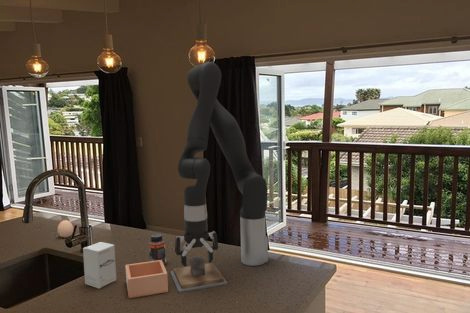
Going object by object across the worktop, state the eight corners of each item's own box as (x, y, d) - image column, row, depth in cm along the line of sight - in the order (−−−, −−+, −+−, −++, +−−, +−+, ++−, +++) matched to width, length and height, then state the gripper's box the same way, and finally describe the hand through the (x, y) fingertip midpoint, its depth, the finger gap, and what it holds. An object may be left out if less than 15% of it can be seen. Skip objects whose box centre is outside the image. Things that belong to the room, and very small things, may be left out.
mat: (214, 266, 143) (214, 264, 143) (227, 284, 128) (227, 282, 128) (170, 272, 138) (170, 271, 138) (178, 292, 123) (178, 291, 123)
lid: (212, 265, 142) (211, 249, 141) (223, 281, 129) (223, 263, 128) (173, 271, 137) (172, 254, 137) (181, 289, 124) (180, 270, 123)
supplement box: (99, 289, 127) (96, 251, 125) (84, 284, 131) (81, 247, 129) (117, 280, 133) (115, 244, 131) (102, 276, 137) (100, 240, 135)
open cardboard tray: (162, 276, 135) (161, 259, 134) (168, 291, 124) (167, 273, 123) (126, 282, 131) (125, 264, 131) (128, 298, 120) (127, 279, 119)
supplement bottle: (169, 263, 147) (168, 233, 146) (159, 269, 142) (158, 238, 140) (156, 260, 150) (154, 231, 148) (146, 266, 144) (144, 236, 143)
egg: (72, 238, 177) (71, 221, 176) (56, 240, 176) (55, 222, 175) (74, 234, 183) (73, 217, 183) (59, 235, 182) (58, 218, 181)
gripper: (213, 212, 136) (214, 257, 138) (172, 216, 132) (174, 263, 134) (219, 217, 129) (220, 265, 131) (176, 222, 125) (178, 271, 127)
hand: (197, 264), depth 132 cm, fingers open, 8 cm apart
